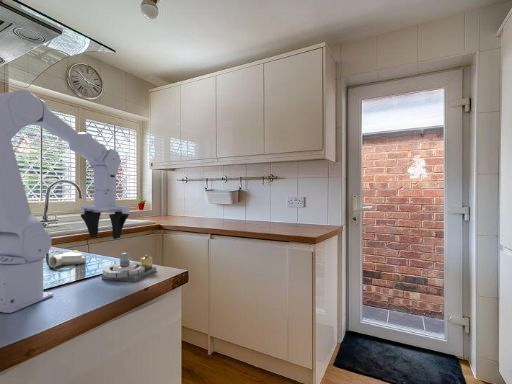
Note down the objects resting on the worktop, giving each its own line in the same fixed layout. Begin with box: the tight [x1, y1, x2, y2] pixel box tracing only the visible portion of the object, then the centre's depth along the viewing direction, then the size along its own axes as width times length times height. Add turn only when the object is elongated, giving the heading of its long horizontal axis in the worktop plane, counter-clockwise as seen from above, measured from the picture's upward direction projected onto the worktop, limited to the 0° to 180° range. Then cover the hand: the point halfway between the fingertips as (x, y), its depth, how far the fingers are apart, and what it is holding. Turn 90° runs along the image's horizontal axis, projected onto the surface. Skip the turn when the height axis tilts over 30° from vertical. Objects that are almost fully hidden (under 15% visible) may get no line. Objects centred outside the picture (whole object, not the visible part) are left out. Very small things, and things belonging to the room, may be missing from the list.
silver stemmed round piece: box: [113, 252, 136, 271], centre depth 78 cm, size 6×6×5 cm
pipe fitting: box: [48, 249, 87, 268], centre depth 88 cm, size 8×4×7 cm
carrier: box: [101, 254, 157, 283], centre depth 78 cm, size 11×11×5 cm
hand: (105, 237), depth 81 cm, fingers open, 7 cm apart
